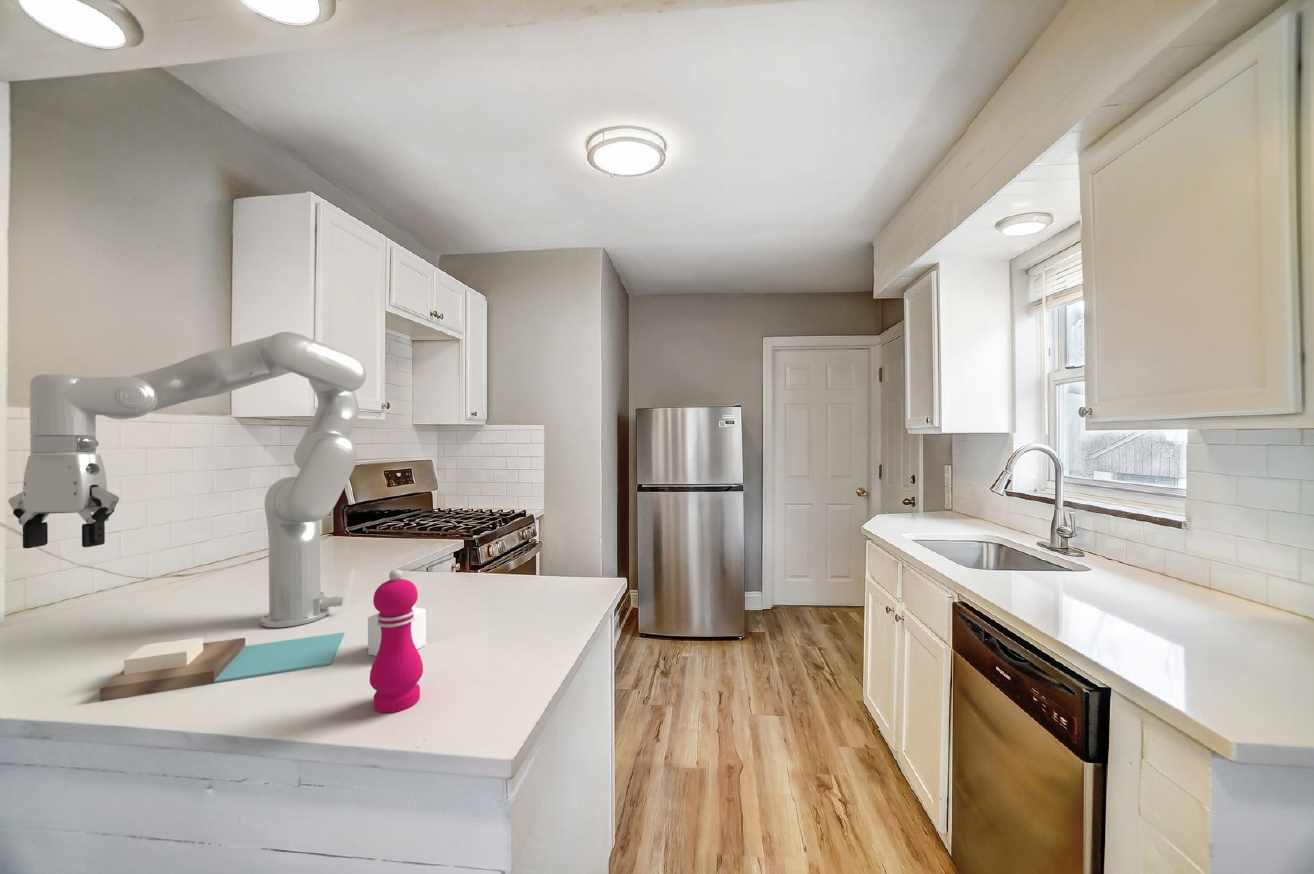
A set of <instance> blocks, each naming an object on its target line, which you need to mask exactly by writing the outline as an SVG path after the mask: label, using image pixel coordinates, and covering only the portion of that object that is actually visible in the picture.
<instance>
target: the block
mask: <svg viewBox="0 0 1314 874" xmlns="http://www.w3.org/2000/svg"><path fill="white" fill-rule="evenodd" d="M203 643H204V637H195V638H187V639H181V640H172V641H165V642H158V643H157V642H156V643H151V644H150V643H148V644H144V645H143V646H141V647H140V648H139V649H137V650H136V651H135V652H133V653H132V654H130V655H129V656H127V657H126V658H125V659H123V670H124V675H127V674H134V673H141V672H148V671H155V670H161V669H168V668H175V667H182V666H187V665H188V664H189V663H190V662H192V661H193V660H194V659H195V658H196V657H197V656H198V655H199V654H200V653H201V652H202V651H203Z"/></svg>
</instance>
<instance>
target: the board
mask: <svg viewBox="0 0 1314 874" xmlns="http://www.w3.org/2000/svg"><path fill="white" fill-rule="evenodd" d="M245 646H246V637H239V638H233V639H226V640H225V639H224V640H218V641H211V642H210V641H209V642H203V651H202V652H201V653H200V654H199V655H198V656H197V657H196V658H195V659H194V660H193V661H192V662H190V663H189V664H188V665H187V666H182V667H175V668H168V669H161V670H155V671H148V672H141V673H134V674H127V675H124V669H123V670H122V671H120V673H118V674H117V675H116V676H114V677H112V678H111V679H110V680H109V681H107V682H106V683H105V684H104V685H102V686H101V687H100V688H99V700H100V702H104V701H109V700H115V699H122V698H128V697H134V696H142V695H147V694H153V693H160V692H167V691H172V690H179V689H187V688H190V687H191V688H192V687H198V686H205V685H211V684H215V683H214V680H215V679H216V678H217V677H218V676H219V675H220V674H221V673H222V671H223V670H224V669H225V668H226V667H227V666H228V665H229V664H230V663H231V661H232V660H233V659H234V658H235V657H236V656H237V655H238V654H239V653H240V651H241V650H242V649H243V648H244V647H245ZM210 682H211V683H210Z"/></svg>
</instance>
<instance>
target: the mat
mask: <svg viewBox="0 0 1314 874" xmlns="http://www.w3.org/2000/svg"><path fill="white" fill-rule="evenodd" d="M344 636H345V632H344V631H343V632H338V633H337V632H336V633H330V634H323V635H322V634H321V635H316V636H314V635H313V636H308V637H302V638H301V637H300V638H294V639H287V640H279V641H273V642H263V643H256V644H250V645H245V647H244V648H243V649H242V650H241V651H240V653H239V654H238V655H237V656H236V657H235V658H234V659H233V660H232V661H231V663H230V664H229V665H228V666H227V667H226V668H225V669H224V670H223V671H222V673H221V674H220V675H219V676H218V677H217V678H216V679H215V680H214V683H213V684H217V683H224V682H231V681H236V680H242V679H243V680H244V679H249V678H256V677H262V676H266V675H267V676H268V675H274V674H281V673H288V672H294V671H299V670H305V669H312V668H319V667H325V666H331V665H332V664H333V661H334V659H335V657H336V654H337V652H338V650H339V648H340V646H341V644H342V641H343V639H342V638H344ZM341 640H342V641H341ZM339 645H340V646H339ZM338 647H339V648H338ZM210 683H211V682H210Z"/></svg>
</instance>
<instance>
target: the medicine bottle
mask: <svg viewBox="0 0 1314 874" xmlns="http://www.w3.org/2000/svg"><path fill="white" fill-rule="evenodd" d="M412 609H413V610H414V620H413V621H412V622H411V634H412V639H413V643H414V645H415V647H416V649H418V648H420V647H422V648H424V647H426V645H427V611H426V609H425V608H419V607H416V603H415V604H414V606H413V607H412ZM378 614H380V612H378V613H375V614H373V615H370V616H368V617H367V647H368V648H367V649H368V650H367V653H368V655H369V656H371V655H374V656H373V657H376V656H377V653H378V651H379V647H380V643H381V626H379V625H378V624H377V622H378V618H377V616H378ZM423 646H424V647H423ZM420 649H421V648H420ZM418 650H419V649H418Z"/></svg>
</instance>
